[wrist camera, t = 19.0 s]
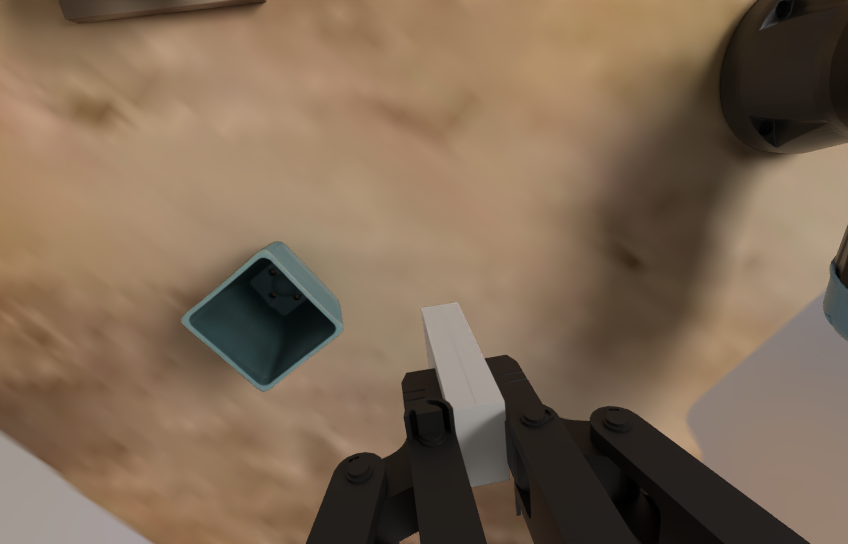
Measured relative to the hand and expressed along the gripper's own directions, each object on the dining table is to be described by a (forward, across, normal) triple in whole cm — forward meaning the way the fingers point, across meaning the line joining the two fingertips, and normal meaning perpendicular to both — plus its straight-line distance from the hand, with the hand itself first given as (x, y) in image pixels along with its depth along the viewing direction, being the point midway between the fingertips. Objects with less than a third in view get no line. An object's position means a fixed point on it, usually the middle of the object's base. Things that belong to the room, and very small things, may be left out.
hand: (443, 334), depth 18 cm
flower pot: (+25, +12, +5) cm, 28 cm away
